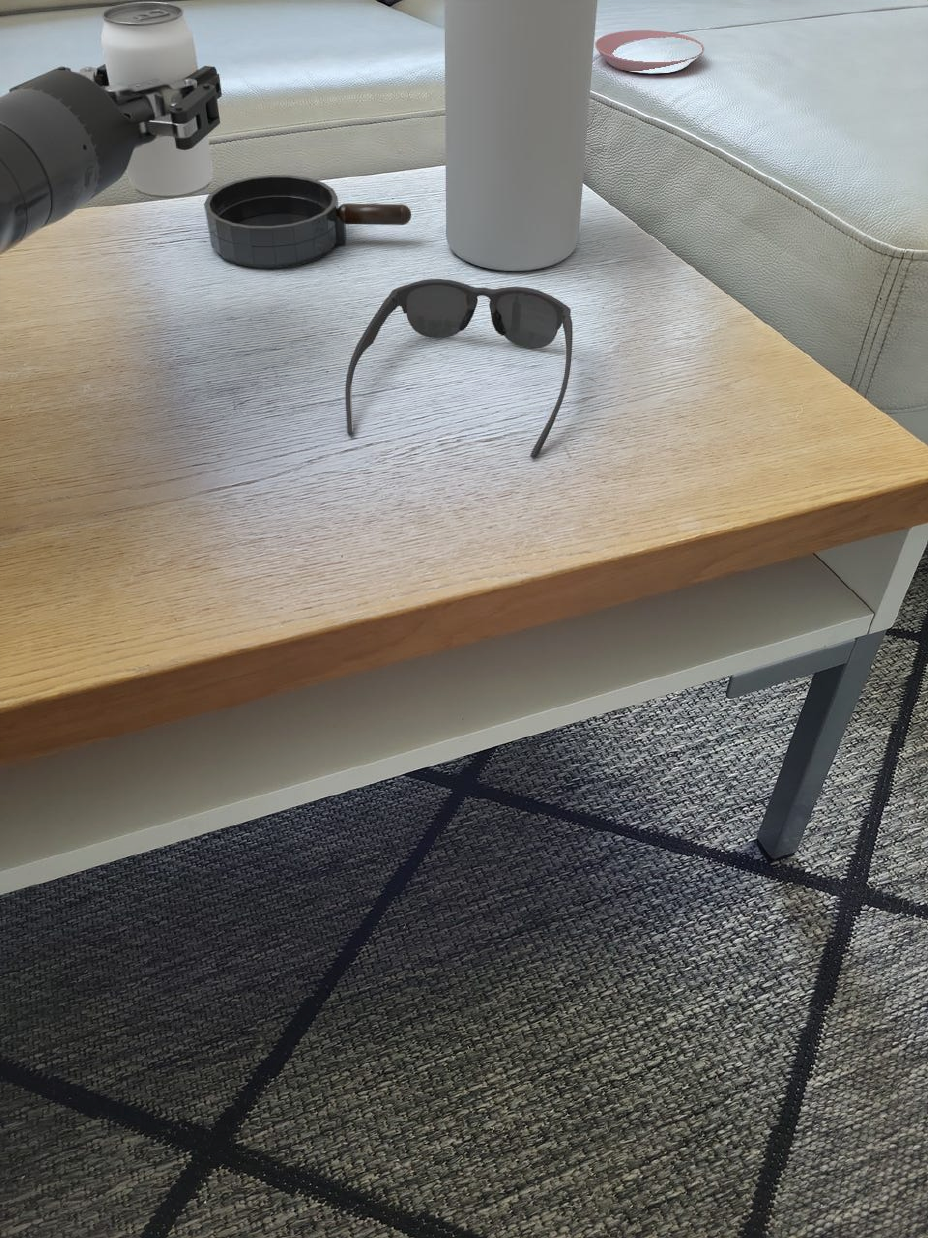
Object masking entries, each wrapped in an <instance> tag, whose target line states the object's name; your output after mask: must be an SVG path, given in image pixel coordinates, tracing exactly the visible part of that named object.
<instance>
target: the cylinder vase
mask: <svg viewBox="0 0 928 1238" xmlns="http://www.w3.org/2000/svg"><path fill="white" fill-rule="evenodd" d="M443 7H444V9H443V10H444V127H445V128H444V131H445V133H444V134H445V137H444V141H445V143H444V144H445V147H444V148H445V239H446V242H447V246H448V247H449V248H450V250H451V251H452V252H453V253H454V254H455V255H456V256H457V257H459V258H460V259H461V260H463V261H465V262H467V263H470V264H472V265H475V266H478V267H481V268H485V269H489V270H495V271H505V272H524V271H535V270H539V269H543V268H548V267H551V266H553V265H554V266H555V265H556V264H558V263H560V262H562V261H563V260H565V259H567V258H568V257H569V256H570V255H572V253H573V252H574V251H575V249H576V248H577V246H578V244H579V236H580V223H581V213H582V212H581V211H582V200H583V185H584V175H585V174H584V173H585V162H586V161H585V160H586V151H587V150H586V149H587V138H588V137H587V135H588V125H589V124H588V123H589V110H590V100H591V98H590V97H591V87H592V73H593V60H594V50H595V49H594V48H595V35H596V26H597V25H596V23H597V10H598V0H444V5H443Z"/></svg>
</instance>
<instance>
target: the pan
mask: <svg viewBox="0 0 928 1238" xmlns="http://www.w3.org/2000/svg"><path fill="white" fill-rule="evenodd" d="M203 208H204V214H205V220H206V225H207V231H208V237H209V241H210V245H211V248H212V249H213V250H215V252H217V253H218V254H219V256H221V257H222V258H223V259H225V260H227V261H229V262H231V263H233V264H236V265H239V266H242V267H248V268H257V269H284V268H291V267H296V266H300V265H304V264H308V263H311V262H313V261H316V260H318V259H320V258H322V257H323V256H325V255H327V254H328V253H329V252H330V251H331V250H332V249H333V248H334V245H335V244H336V243H337V242H338V240H339V237H338V225H337V209H338V208H339V198H338V195H337V193H336V191H335V190H334V188H332V187H331V186H329V185H327V184H326V183H325V182H323V181H320V180H317V179H314V178H310V177H307V176H298V175H292V174H267V175H259V176H251V177H246V178H242V179H237V180H234V181H231V182H229V183H226V184H224V185H222V186H219V187H217V188H216V189H215V190H214V191H212V192H211V193H210V194H208V195H207V197H206V198H205V201H204V203H203Z"/></svg>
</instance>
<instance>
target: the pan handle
mask: <svg viewBox="0 0 928 1238" xmlns="http://www.w3.org/2000/svg"><path fill="white" fill-rule="evenodd" d="M338 207H339V208H338V209H337V225H338V237H339V240H338V242H337V243H336V244H335V245H334V246H335V247H336V246H339V247H341V246H342V247H343V246H345V247H346V245H347V240H348V236H347V235H348V234H347V225H369V226H370V225H372V226H375V225H377V226H380V225H381V226H404V225H407V224H409V222H410V221H411V219H412V211H411V209H410V207H408V206H407V205H406V204H401V203H398V204H395V203H393V204H392V203H342V204H341V205H338ZM334 246H333V247H334Z"/></svg>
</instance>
